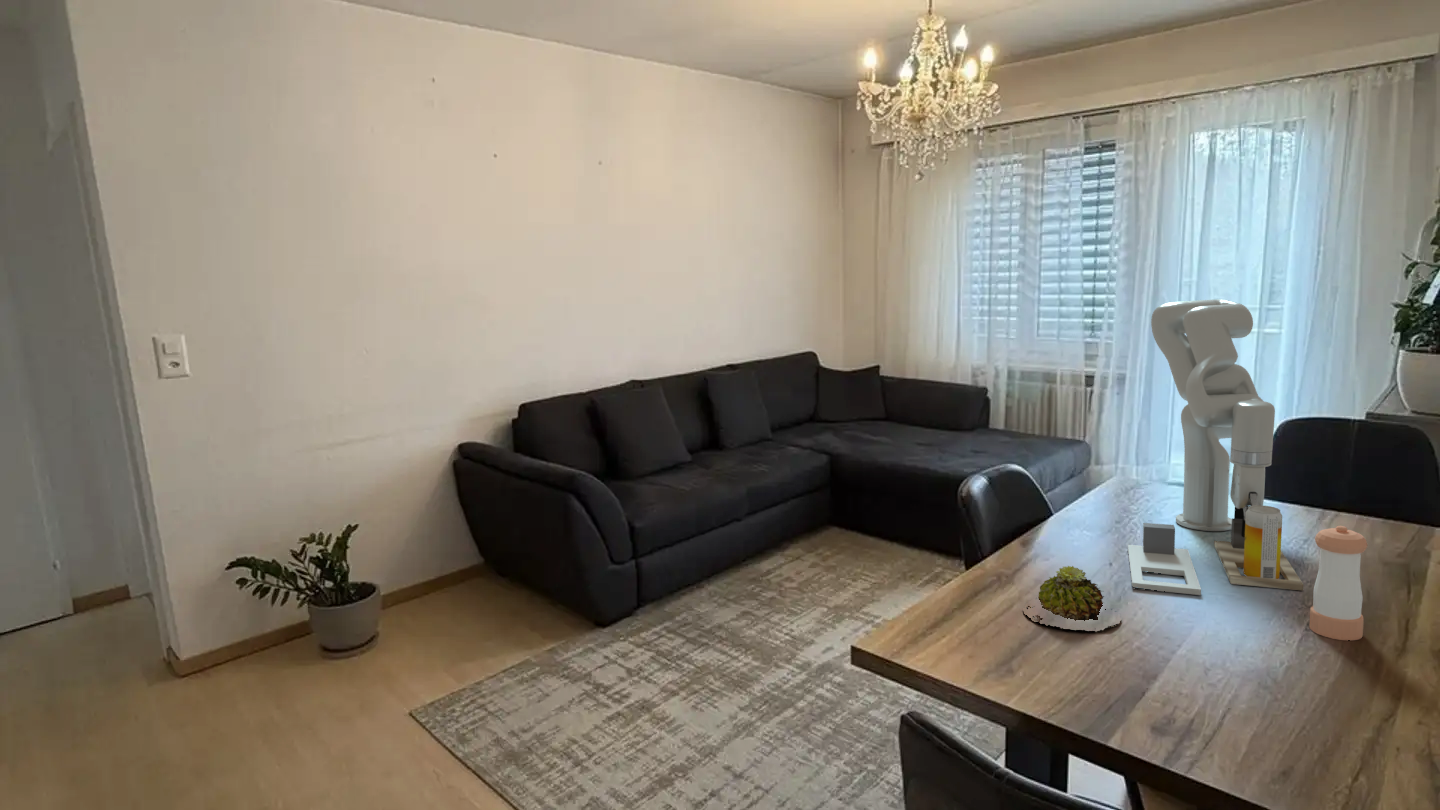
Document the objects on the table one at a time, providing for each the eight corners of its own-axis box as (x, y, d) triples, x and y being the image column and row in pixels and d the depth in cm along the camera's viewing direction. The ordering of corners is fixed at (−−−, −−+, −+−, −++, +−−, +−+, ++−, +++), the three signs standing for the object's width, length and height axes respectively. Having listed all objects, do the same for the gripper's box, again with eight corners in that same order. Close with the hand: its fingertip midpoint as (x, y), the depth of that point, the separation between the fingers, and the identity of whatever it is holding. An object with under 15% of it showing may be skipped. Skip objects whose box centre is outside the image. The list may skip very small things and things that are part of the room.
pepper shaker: (1349, 644, 128) (1356, 536, 125) (1300, 629, 134) (1306, 525, 131) (1371, 633, 131) (1378, 527, 128) (1322, 618, 137) (1327, 517, 135)
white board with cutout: (1127, 549, 176) (1128, 519, 175) (1187, 554, 171) (1188, 523, 170) (1132, 588, 155) (1132, 554, 154) (1201, 595, 150) (1202, 560, 149)
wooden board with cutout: (1214, 545, 175) (1215, 515, 174) (1277, 550, 170) (1278, 519, 169) (1230, 583, 154) (1232, 550, 153) (1303, 590, 149) (1305, 555, 148)
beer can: (1267, 572, 159) (1270, 504, 157) (1286, 584, 153) (1289, 512, 151) (1236, 573, 159) (1239, 505, 157) (1254, 585, 153) (1257, 513, 151)
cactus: (1024, 631, 141) (1024, 581, 139) (1021, 597, 156) (1020, 551, 154) (1128, 639, 135) (1129, 588, 134) (1114, 603, 150) (1115, 556, 148)
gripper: (1224, 446, 176) (1220, 515, 180) (1236, 466, 161) (1232, 541, 164) (1263, 447, 173) (1258, 518, 176) (1279, 468, 158) (1274, 545, 161)
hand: (1246, 529), depth 170 cm, fingers open, 9 cm apart
